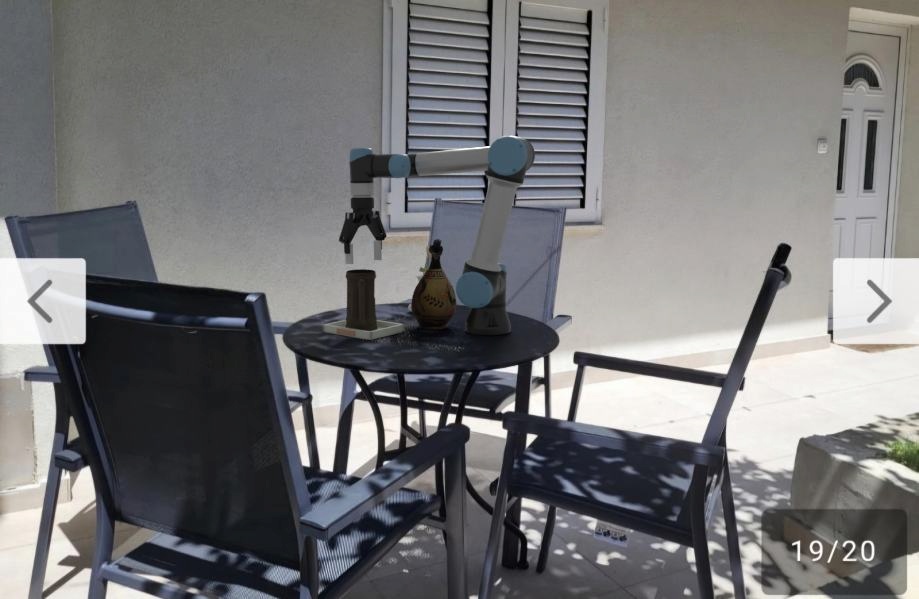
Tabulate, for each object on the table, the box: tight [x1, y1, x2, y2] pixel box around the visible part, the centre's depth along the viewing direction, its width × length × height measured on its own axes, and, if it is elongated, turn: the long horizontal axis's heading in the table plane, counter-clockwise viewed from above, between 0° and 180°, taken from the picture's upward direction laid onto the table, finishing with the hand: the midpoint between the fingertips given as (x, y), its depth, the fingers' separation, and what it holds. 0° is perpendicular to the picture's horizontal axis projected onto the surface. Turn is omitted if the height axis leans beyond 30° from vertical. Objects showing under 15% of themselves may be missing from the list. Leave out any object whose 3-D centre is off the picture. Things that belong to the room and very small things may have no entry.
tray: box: [322, 319, 406, 341], centre depth 280 cm, size 17×21×2 cm
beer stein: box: [345, 268, 378, 331], centre depth 278 cm, size 15×11×20 cm
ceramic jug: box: [410, 238, 457, 331], centre depth 288 cm, size 17×15×30 cm
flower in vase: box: [407, 245, 432, 312], centre depth 317 cm, size 13×11×25 cm
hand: (363, 262), depth 277 cm, fingers open, 13 cm apart
